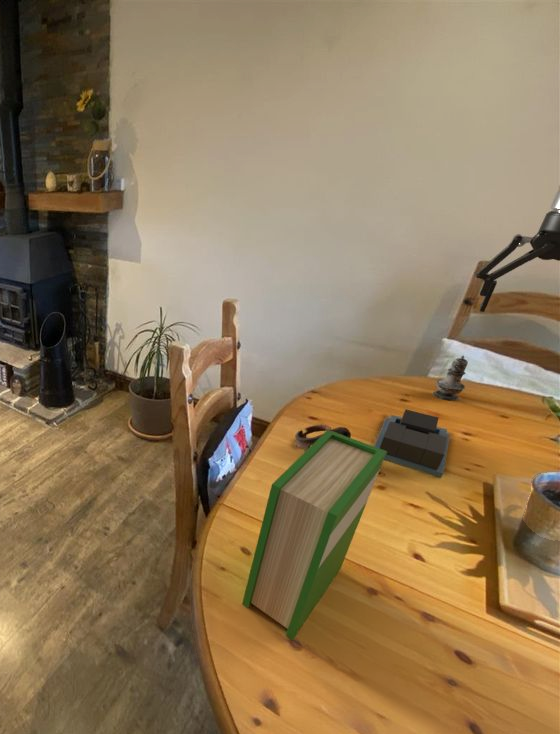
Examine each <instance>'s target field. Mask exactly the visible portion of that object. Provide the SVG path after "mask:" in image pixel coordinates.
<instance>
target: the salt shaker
mask: <svg viewBox="0 0 560 734" xmlns="http://www.w3.org/2000/svg"><path fill="white" fill-rule="evenodd" d="M468 364H469V362H468V360H467V359H465V356H464V355H461V356H460V357H458V358H455V359H453V360H452V363H451V365H450V367H449V368H448V369H446V370H447V374H446V375H445V378H443V379H441V378H440V379H437V380H436V381H435V383H436V389H437V390H435V391H433V392H432V395H433V396H434V397H436V398H437V399H441V400H444V401H451V402H453V401H454V402H455V401H458V400H459V399H460V397H459V396H458V394H460V393H462V391H463V390H465V389H466V385H464V383H462V378H463V376H464V375H466V372H465V370H466V368H467V367H468Z"/></svg>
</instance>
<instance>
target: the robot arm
mask: <svg viewBox="0 0 560 734" xmlns="http://www.w3.org/2000/svg"><path fill="white" fill-rule="evenodd" d="M549 208H550V209H551V211H548V212H547V213H546V214H545V216H544V218H543V220H542V223H541V225H540V226H539V228H538V231H537V233H536V234H535V235H534V236H526V235H522V234H520V233H518V234H515V235H514V236H513V237H512V239H511V241H510V242H509V243H508V245H507V246H506V247H505V248H503V249H502V250H501V251H500V252H499V253H498V254H496V255H495V256H494V257H493V258H491V260H489V261H488V262H487V263H486V264H485V265H483V266H482V267H481V268H480V269H479V270H478V271H477V272H476V274H475V278H476V279H481V280H483V284H482V287H481V288H480V291H479V296H480V297H484V298H483V300H482V303H481V305H480V307H479V312H480V313H485V311H486V309H487V306H488V304H489V302H490V300H491V298H492V295H493V293H494V291H495V288H496V286H497V284H498V281H497V279H499V278H501V277H503V276H505V275H506V274H508V273H510V272H512V271H514V270H516V269H517V268H519V267H521V266H523V265H524V264H526V263H529V262H531V261H533V260H534V259H536V258H538V259H540V260H542V261H551V260H555V261H559V262H560V186H558V187H557V190H556V192H555V194H554V197H553V198H552V201H551V203H550V205H549ZM528 243H529V244H530V246H531V248H532V249H530V250H529V251H527V252H526V253H524V254H523V255H521V256H519V257H517V258H515V259H514V260H512V261H510V262H509V263H507V264H505V265H503V266H501V267H500V268H498V269H495V270H494V271H492V270H493V269H494V268H495V267H496V266H498V265H499V264H500V263H501V262H503V261H504V260H505V259H506V258H507V257H508V256H510V255H511V254H512V253H513V252H515V250H516V249H517V248H521V247H524V245H526V244H528ZM491 271H492V272H491ZM489 272H491V273H489Z"/></svg>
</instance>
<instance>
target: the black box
mask: <svg viewBox="0 0 560 734" xmlns="http://www.w3.org/2000/svg"><path fill="white" fill-rule="evenodd" d="M401 417H402V419H401V422H400V424H401V425H405V426H406V428H407V429H410V430H414V431H418V432H421V433H425V434H429V432H431V433H434V434H435V431H436V427H438V423H439V417H438V416H434V415H430V414H427V413H423V412H418V411H415V410H410V409H405V410H404V411H403V414H402V416H401Z"/></svg>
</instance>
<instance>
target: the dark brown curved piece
mask: <svg viewBox="0 0 560 734" xmlns="http://www.w3.org/2000/svg"><path fill="white" fill-rule="evenodd" d="M304 429H305V431H303V430H298V431H297V432H296V433H295V442H294V443H295V444H294V445H295V447H296V448H298V449H301V450H303V451H304V452H305V451H306V450H307V449H309V448H310V447H311V446H312V445H313V444H314V443H315V442H316V441H317V440H318V439H319V438H320V437H321V436H322V435H323V434H324V433H325V432H326V431H327V430H330V431H333V432H335V433H338V434H341V435H344V436H346V437H349V438H352V433H351V431H350V430H349V428H347V427H344V426H339V427H335V428H333V429H332V427H331V426H330V425H328V424H323V423H322V424H314V425H310V426H306V427H305V428H304ZM317 432H323V433H321V434H319V435H316V436H313V437H307V436H308V435H310V434H313V433H317Z"/></svg>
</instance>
